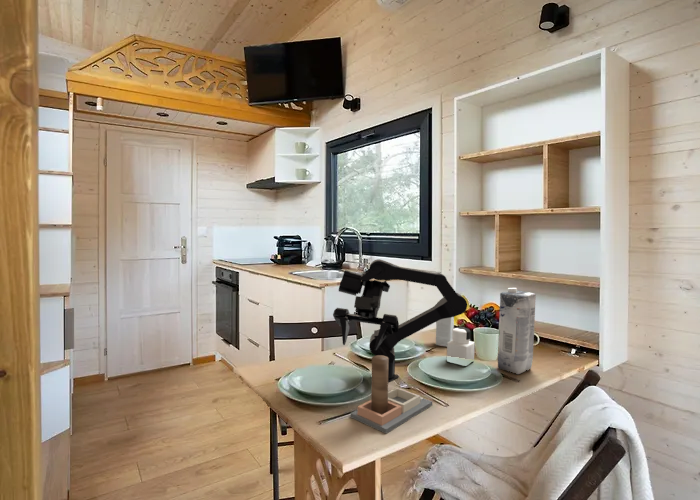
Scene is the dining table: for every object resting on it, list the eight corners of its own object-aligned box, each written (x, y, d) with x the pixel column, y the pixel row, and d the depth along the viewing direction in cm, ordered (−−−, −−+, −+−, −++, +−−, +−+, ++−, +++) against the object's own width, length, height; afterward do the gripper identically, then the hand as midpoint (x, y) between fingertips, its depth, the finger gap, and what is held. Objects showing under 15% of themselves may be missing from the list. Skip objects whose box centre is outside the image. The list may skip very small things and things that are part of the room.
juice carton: (535, 369, 132) (539, 289, 131) (518, 376, 126) (523, 292, 124) (510, 362, 139) (513, 285, 138) (493, 368, 133) (497, 288, 131)
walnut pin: (373, 409, 99) (374, 354, 98) (389, 411, 98) (390, 356, 97) (369, 416, 96) (369, 359, 95) (385, 419, 94) (386, 361, 93)
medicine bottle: (454, 357, 143) (456, 324, 142) (474, 362, 139) (475, 328, 138) (446, 362, 138) (447, 328, 137) (465, 367, 133) (467, 332, 132)
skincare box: (453, 345, 158) (454, 315, 157) (450, 347, 155) (451, 317, 154) (438, 342, 161) (439, 313, 161) (435, 344, 158) (436, 315, 157)
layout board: (398, 392, 112) (398, 382, 112) (432, 405, 105) (432, 394, 104) (350, 417, 97) (350, 405, 97) (386, 433, 90) (386, 420, 90)
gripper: (336, 281, 116) (321, 329, 108) (399, 288, 111) (389, 339, 102) (343, 300, 125) (330, 346, 116) (402, 307, 120) (393, 356, 111)
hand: (359, 347), depth 111 cm, fingers open, 9 cm apart
